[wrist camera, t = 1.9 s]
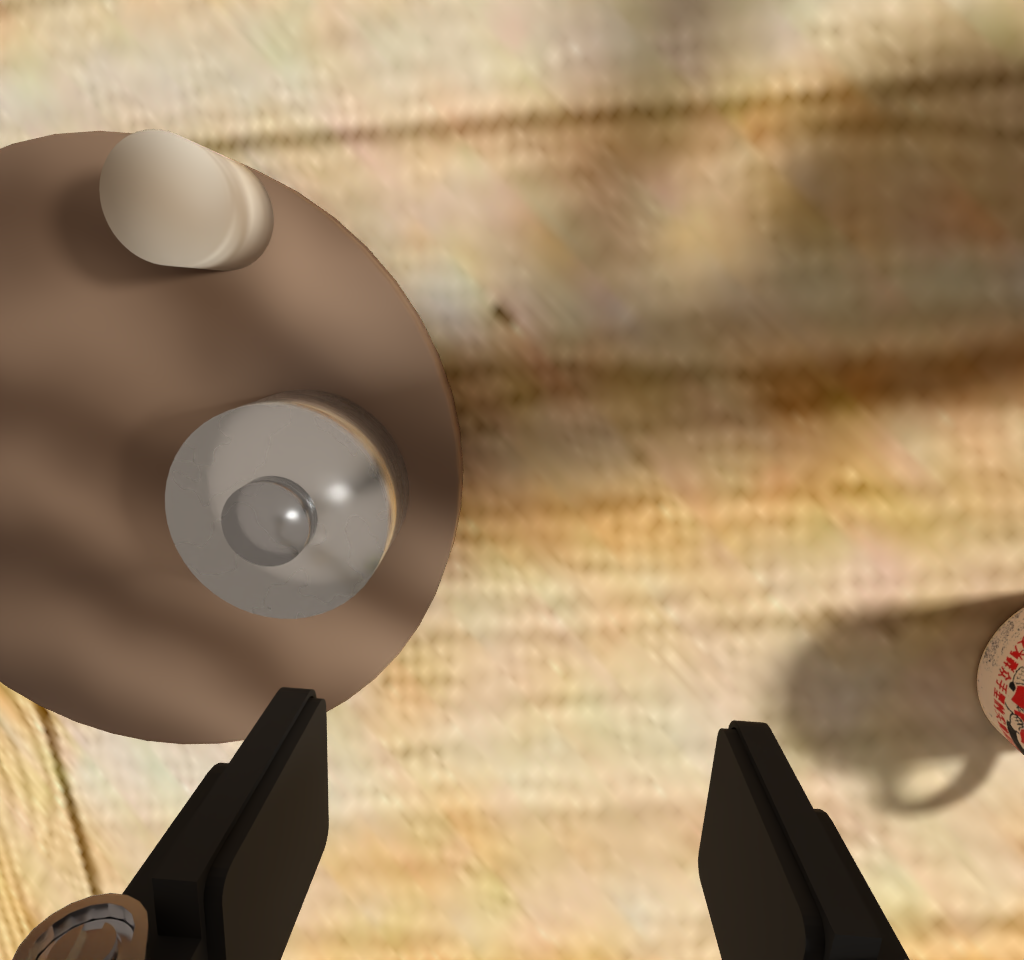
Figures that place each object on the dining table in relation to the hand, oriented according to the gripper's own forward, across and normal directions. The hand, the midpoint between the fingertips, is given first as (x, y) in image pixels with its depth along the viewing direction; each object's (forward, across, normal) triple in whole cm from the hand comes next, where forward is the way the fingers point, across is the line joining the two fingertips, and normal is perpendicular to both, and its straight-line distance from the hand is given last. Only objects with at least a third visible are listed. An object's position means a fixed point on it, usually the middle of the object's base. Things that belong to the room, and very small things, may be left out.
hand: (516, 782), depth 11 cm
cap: (+16, +9, 0) cm, 19 cm away
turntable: (+18, +16, 0) cm, 24 cm away
